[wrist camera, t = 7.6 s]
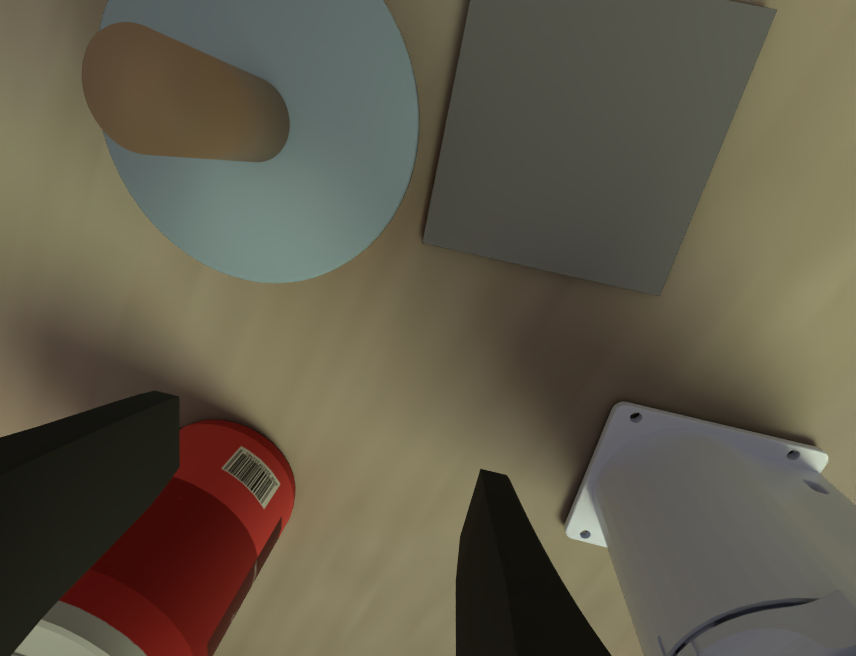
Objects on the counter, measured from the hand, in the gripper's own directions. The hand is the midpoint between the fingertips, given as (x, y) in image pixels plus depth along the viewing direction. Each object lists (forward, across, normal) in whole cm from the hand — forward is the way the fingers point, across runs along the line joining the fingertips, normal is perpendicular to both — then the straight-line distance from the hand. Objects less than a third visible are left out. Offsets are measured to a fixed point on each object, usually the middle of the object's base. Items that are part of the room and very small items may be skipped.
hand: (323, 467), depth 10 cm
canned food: (+11, +8, +11) cm, 17 cm away
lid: (+8, +6, -7) cm, 12 cm away
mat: (+10, -5, -9) cm, 15 cm away
